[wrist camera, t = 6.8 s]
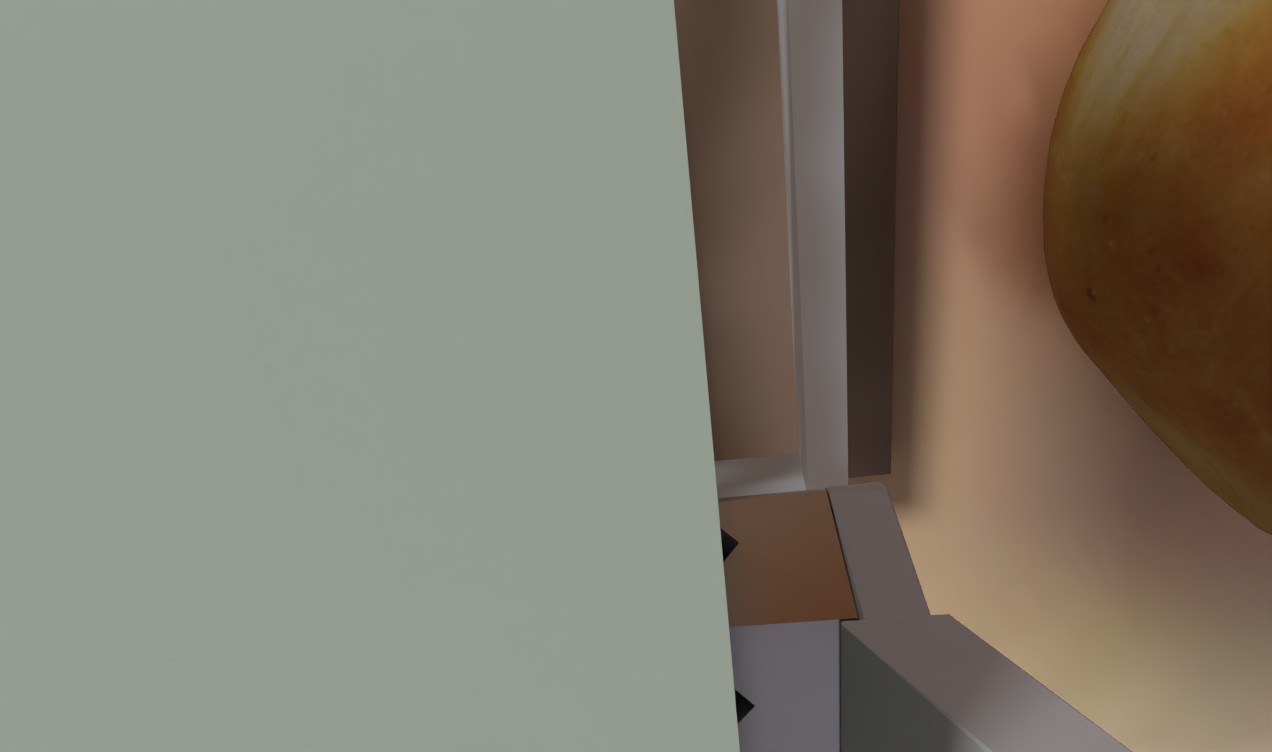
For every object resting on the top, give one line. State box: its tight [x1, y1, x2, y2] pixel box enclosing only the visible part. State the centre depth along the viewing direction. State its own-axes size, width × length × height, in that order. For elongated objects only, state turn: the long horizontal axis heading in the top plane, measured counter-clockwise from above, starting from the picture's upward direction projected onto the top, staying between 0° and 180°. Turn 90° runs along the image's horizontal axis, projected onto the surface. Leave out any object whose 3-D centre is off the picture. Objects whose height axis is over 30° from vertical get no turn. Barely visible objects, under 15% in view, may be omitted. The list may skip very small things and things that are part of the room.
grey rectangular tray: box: [674, 0, 899, 498], centre depth 26 cm, size 11×20×4 cm, turn 7°
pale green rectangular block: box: [0, 0, 740, 752], centre depth 9 cm, size 4×14×8 cm, turn 7°
